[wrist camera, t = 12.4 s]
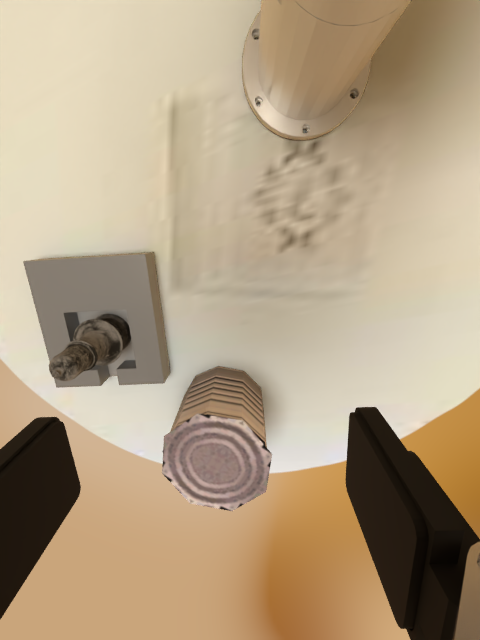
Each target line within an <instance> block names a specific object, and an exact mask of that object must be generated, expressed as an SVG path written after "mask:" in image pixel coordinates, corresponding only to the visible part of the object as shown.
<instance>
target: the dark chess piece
mask: <svg viewBox="0 0 480 640" xmlns="http://www.w3.org/2000/svg"><path fill="white" fill-rule="evenodd" d="M73 340H74V341H72V342H69V343H68V344H67V345H66V346H65V348H64V351H62V352H61V353H59V354H58V355H56V356H55V357H54V358H53V359H52V360H51V362H50V364H49V370H50V373H51V375H52V377H54V378H56V379H58V380H61V381H70V380H72V379H75V378H76V377H77V376H78V375H79V374H81V373H82V372H83V371H88V370H90V369H92V368H93V367H94V366H95V365H101V366H103V365H109V364H111V363H113V362H115V361H116V360H117V359H118V358H119V357H120V355H121V354H122V350H124V349H125V348H126V347H127V346H128V345H129V343H130V341H131V334H130V328H129V325H128V323H127V322H126V321H125V320H124V319H123V318H121V317H120V316H118V315H115V314H102V315H100V316H98V317H97V318H96V319H90V320H87V321H84V322H82V323H81V324H80V325H79V326H78V327H77V328H76V330H75V332H74V337H73Z"/></svg>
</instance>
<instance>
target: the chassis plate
mask: <svg viewBox="0 0 480 640" xmlns="http://www.w3.org/2000/svg"><path fill="white" fill-rule="evenodd" d="M23 262H24V266H25V270H26V274H27V277H28V281H29V285H30V289H31V292H32V296H33V300H34V304H35V308H36V311H37V315H38V319H39V323H40V326H41V330H42V334H43V338H44V341H45V345H46V349H47V353H48V357H49V360H50V362H51V360H52V359H53V358H54V357H55V356H56V355H58V354H59V353H61V352H62V351H64V348H65V346H66V345H67V344H68V343H69V342H72V341H74V340H73V337H74V332H75V330H76V328H77V327H78V326H79V325H80V324H81V323H82V322H84V321H87V320H90V319H96V318H97V317H98V316H100V315H102V314H115V315H118V316H120V317H121V318H123V319H124V320H125V321H126V322H127V323H128V325H129V328H130V334H131V341H130V343H129V345H128V346H127V347H126V348H125V349H124V350H122V354H121V355H120V357H119V358H118V359H117V360H116V361H115V362H113V363H111V364H109V365H103V366H101V365H95V366H94V367H93V368H92V369H90V370H88V371H83V372H82V373H81V374H79V375H78V376H77V377H76V378H75V379H72V380H70V381H61V380H58V379H56V378H54V379H55V383H56V387H81V386H101V385H102V384H103V383H104V382H105V381H106V380H107V379H108V378H109V377H110V376H118V381H119V385H132V384H157V383H165V381H166V379H167V377H168V375H169V374H170V367H169V360H168V353H167V346H166V339H165V331H164V324H163V317H162V310H161V303H160V296H159V288H158V281H157V274H156V267H155V260H154V253H153V252H149V253H132V254H116V255H99V256H82V257H65V258H48V259H37V260H29V261H23Z"/></svg>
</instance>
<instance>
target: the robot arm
mask: <svg viewBox="0 0 480 640" xmlns="http://www.w3.org/2000/svg"><path fill="white" fill-rule="evenodd" d="M411 1H412V0H261V10H260V12H259V13H258V14H257V16H256V18H255V20H254V21H253V23H252V25H251V27H250V29H249V32H248V35H247V38H246V40H245V45H244V50H243V55H242V78H243V85H244V90H245V94H246V97H247V100H248V102H249V105H250V107H251V109H252V110H253V112H254V114H255V115H256V117H257V118H258V119H259V120H260V121H261V123H262V124H263V125H264V126H265V127H267V128H268V129H269V130H271V131H272V132H274V133H275V134H277V135H280V136H282V137H284V138H288V139H293V140H308V139H313V138H317V137H320V136H322V135H324V134H326V133H329V132H330V131H332V130H333V129H334V128H336V127H337V126H339V125H340V124H341V123H342V122H343V121H344V120H345V119H346V118H347V117H348V116H349V114H350V113H351V112H352V111H353V109H354V108H355V107H356V105H357V104H358V102H359V100H360V99H361V97H362V95H363V92H364V90H365V87H366V84H367V82H368V78H369V73H370V68H371V57H372V56H373V55H374V53H375V52H376V50H377V49H378V47H379V46H380V45H381V43H382V42H383V40H384V39H385V38H386V36H387V35H388V33H389V32H390V30H391V29H392V28H393V26H394V25H395V23H396V22H397V21H398V19H399V18H400V16H401V15H402V13H403V12H404V11H405V9H406V8H407V6H408V5H409V4H410V2H411ZM255 37H257V38H258V39H257V40H255V39H254V38H255ZM350 95H353V96H354V99H353V98H351V97H350ZM258 102H260V103H261V105H260V106H257V105H256V103H258ZM303 129H306V130H307V133H303V131H302V130H303ZM346 487H347V492H348V495H349V497H350V500H351V503H352V506H353V508H354V511H355V514H356V516H357V519H358V522H359V524H360V527H361V529H362V532H363V535H364V537H365V540H366V543H367V545H368V548H369V551H370V553H371V556H372V559H373V561H374V564H375V567H376V569H377V572H378V575H379V577H380V580H381V583H382V585H383V588H384V591H385V593H386V596H387V599H388V601H389V604H390V606H391V609H392V612H393V615H394V617H395V620H396V622H397V624H398V626H399V627H400V628H401V629H404V628H405V629H407V632H408V634H409V637H410V639H411V640H480V539H479V538H478V536H477V535H476V534H475V532H474V531H473V530H472V528H471V527H470V526H469V524H468V523H467V522H466V520H465V519H464V518H463V516H462V515H461V513H460V512H459V511H458V509H457V508H456V507H455V506H454V504H453V503H452V501H451V500H450V499H449V498H448V496H447V495H446V493H445V492H444V491H443V490H442V488H441V487H440V486H439V484H438V483H437V481H436V480H435V479H434V477H433V476H432V475H431V473H430V472H429V471H428V469H427V468H426V467H425V465H424V464H423V463H422V461H421V460H420V459H419V457H418V456H417V455H416V454H415V453H414V452H412V451H407V450H406V448H405V447H404V445H403V444H402V442H401V441H400V440H399V438H398V437H397V435H396V434H395V433H394V431H393V430H392V428H391V427H390V426H389V424H388V423H387V422H386V420H385V419H384V417H383V416H382V415H381V413H380V412H379V410H378V409H377V408H376V407H360V408H356V410H355V412H352V413H350V416H349V432H348V449H347V466H346ZM80 488H81V487H80V482H79V478H78V474H77V471H76V467H75V463H74V459H73V456H72V452H71V448H70V444H69V441H68V437H67V433H66V430H65V426H64V423H63V422H61V421H60V420H59V419H58V418H57V417H40V418H36V419H34V420H33V421H32V422H31V423H30V424H29V425H27V426H26V427H25V428H24V429H23V430H22V431H21V432H20V433H18V434H17V435H16V436H15V437H14V438H13V439H12V440H11V441H9V442H8V443H7V444H6V445H5V446H4V447H2V448H1V449H0V619H1V618H2V616H3V615H4V613H5V611H6V610H7V608H8V607H9V605H10V603H11V602H12V600H13V599H14V597H15V596H16V594H17V592H18V591H19V589H20V588H21V586H22V585H23V583H24V582H25V580H26V579H27V577H28V575H29V574H30V572H31V571H32V569H33V568H34V566H35V564H36V563H37V561H38V560H39V558H40V557H41V555H42V553H43V552H44V550H45V549H46V547H47V546H48V544H49V542H50V541H51V539H52V538H53V536H54V535H55V533H56V531H57V530H58V528H59V527H60V525H61V524H62V522H63V520H64V519H65V517H66V516H67V514H68V513H69V511H70V510H71V508H72V506H73V505H74V503H75V502H76V500H77V498H78V497H79V494H80Z"/></svg>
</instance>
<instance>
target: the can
mask: <svg viewBox="0 0 480 640" xmlns="http://www.w3.org/2000/svg"><path fill="white" fill-rule="evenodd" d="M271 458H272V454H271V452H270V451H269V450H268V449H267V446H266V434H265V422H264V410H263V402H262V393H261V387H260V386H259V385H258V384H257V383H255V382H254V381H253V380H252V379H251V378H250V377H249V376H248V375H247V374H246V373H245V372H244V371H242V370H237V369H231V368H226V367H220V366H217V367H215V368H213V369H210V370H208V371H206V372H203V373H201V374H199V375H196V376H195V378H194V379H193V381H192V383H191V385H190V387H189V388H188V390H187V392H186V394H185V396H184V398H183V401H182V403H181V406H180V408H179V411H178V413H177V416H176V419H175V421H174V424H173V426H172V429H171V431H170V433H168V434H167V435H165V436H164V449H163V469H162V473H163V475H164V476H165V477H166V478H167V479H168V480H169V481H170V482H171V483H172V484H173V485H174V486H175V488H176V489H177V490H178V491H179V492H180V493H181V494H182V495H183V496H184V497H185V498H186V499H187V500H188V502H189V503H191V504H197V505H202V506H208V507H213V508H218V509H224V510H229V511H233V510H235V509H236V508H238V507H240V506H242V505H243V504H245V503H247V502H249V501H251V500H252V499H254V498H256V497H257V496H259V495H261V494H263V493H265V492H266V488H267V482H268V476H269V470H270V464H271Z"/></svg>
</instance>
